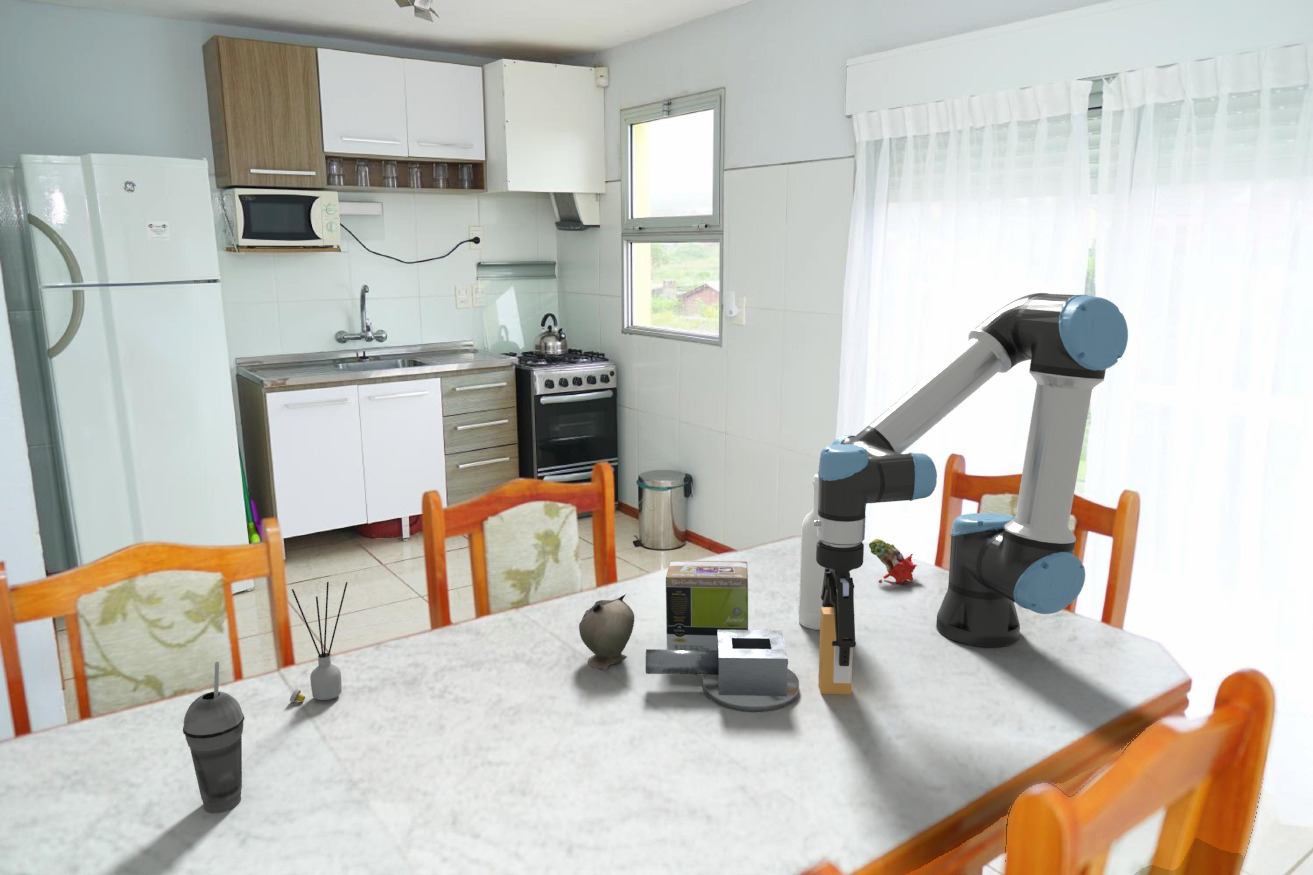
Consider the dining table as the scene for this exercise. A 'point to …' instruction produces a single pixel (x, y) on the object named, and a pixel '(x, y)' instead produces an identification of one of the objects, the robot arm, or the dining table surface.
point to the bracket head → (736, 669)
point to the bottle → (810, 569)
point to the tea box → (704, 602)
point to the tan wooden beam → (829, 655)
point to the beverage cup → (216, 747)
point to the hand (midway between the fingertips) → (835, 663)
